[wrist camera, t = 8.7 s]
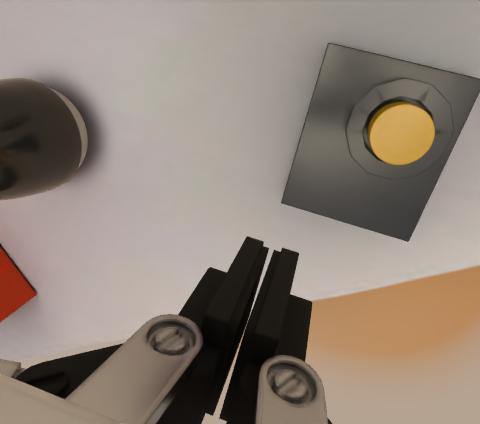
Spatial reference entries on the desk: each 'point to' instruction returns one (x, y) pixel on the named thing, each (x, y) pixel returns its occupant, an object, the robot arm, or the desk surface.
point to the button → (400, 133)
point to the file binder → (12, 287)
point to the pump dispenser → (37, 138)
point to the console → (359, 149)
